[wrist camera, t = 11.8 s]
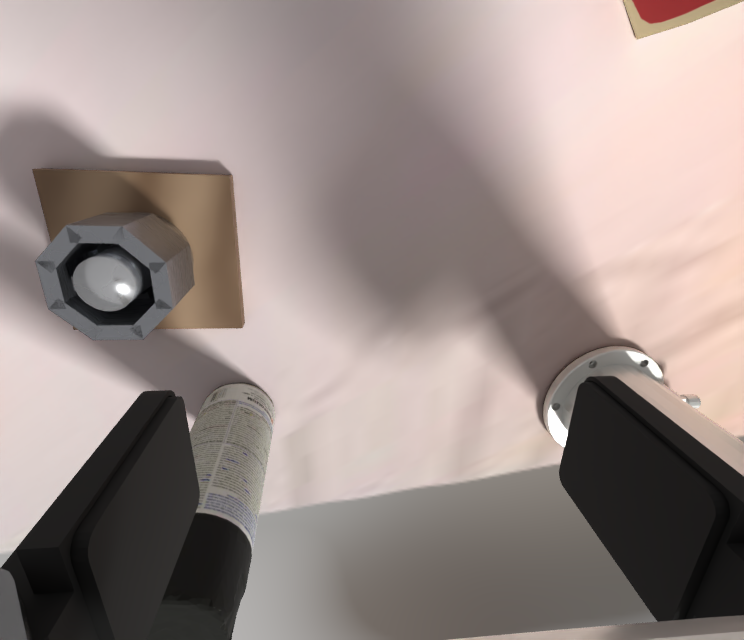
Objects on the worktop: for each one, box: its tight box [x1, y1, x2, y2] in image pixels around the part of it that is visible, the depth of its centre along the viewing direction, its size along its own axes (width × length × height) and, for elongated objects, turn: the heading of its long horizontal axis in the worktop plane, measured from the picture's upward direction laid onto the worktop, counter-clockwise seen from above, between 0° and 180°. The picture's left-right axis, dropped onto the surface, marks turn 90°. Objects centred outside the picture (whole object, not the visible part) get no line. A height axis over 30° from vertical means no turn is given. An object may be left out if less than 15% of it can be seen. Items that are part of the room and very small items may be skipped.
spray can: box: [147, 383, 275, 640], centre depth 30 cm, size 7×7×20 cm
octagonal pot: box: [35, 212, 195, 340], centre depth 27 cm, size 7×7×5 cm
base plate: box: [32, 168, 245, 330], centre depth 32 cm, size 13×12×1 cm
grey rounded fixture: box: [71, 212, 194, 311], centre depth 28 cm, size 7×7×7 cm
